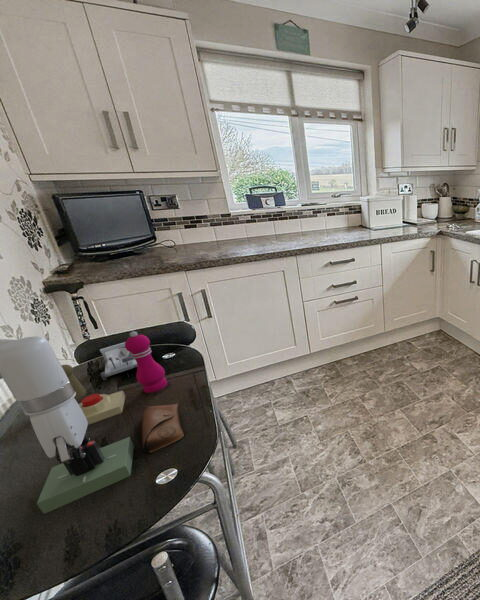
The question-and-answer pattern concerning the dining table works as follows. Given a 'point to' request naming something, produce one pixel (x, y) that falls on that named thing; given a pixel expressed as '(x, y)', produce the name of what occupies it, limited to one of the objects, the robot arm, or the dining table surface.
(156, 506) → the dining table surface
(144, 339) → the pepper mill
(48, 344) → the robot arm
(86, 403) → the red button
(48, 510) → the panel
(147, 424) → the sunglasses case
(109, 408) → the button block
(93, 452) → the handle knob
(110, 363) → the silver toaster
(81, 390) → the cork
